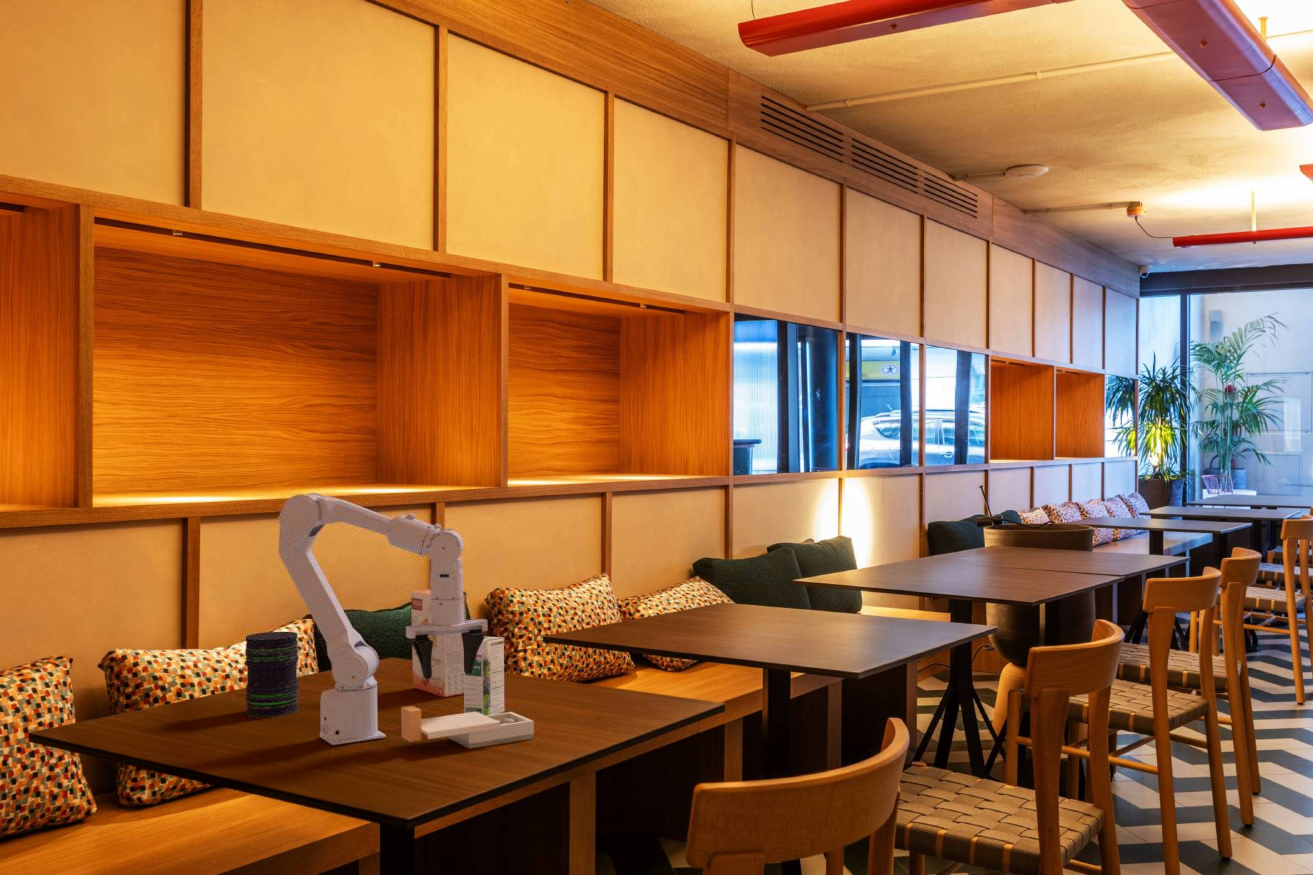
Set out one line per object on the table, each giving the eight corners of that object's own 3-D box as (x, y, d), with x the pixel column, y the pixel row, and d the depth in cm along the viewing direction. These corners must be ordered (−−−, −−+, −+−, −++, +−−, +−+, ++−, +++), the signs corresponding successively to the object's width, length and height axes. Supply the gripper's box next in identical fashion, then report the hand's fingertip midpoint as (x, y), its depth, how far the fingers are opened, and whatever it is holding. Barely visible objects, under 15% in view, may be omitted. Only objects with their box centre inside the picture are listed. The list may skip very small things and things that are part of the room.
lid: (416, 745, 186) (416, 714, 186) (395, 733, 194) (394, 703, 194) (500, 732, 193) (499, 703, 194) (476, 721, 202) (475, 693, 202)
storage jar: (235, 716, 220) (234, 638, 220) (264, 705, 229) (263, 631, 230) (281, 718, 217) (280, 639, 218) (308, 707, 227) (307, 631, 227)
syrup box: (463, 715, 217) (461, 638, 217) (481, 709, 222) (480, 634, 222) (487, 718, 214) (486, 640, 214) (505, 711, 219) (504, 636, 220)
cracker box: (410, 688, 244) (409, 590, 245) (436, 684, 248) (434, 588, 248) (442, 698, 233) (440, 595, 234) (468, 694, 237) (466, 593, 237)
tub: (469, 748, 191) (468, 730, 191) (448, 738, 199) (448, 720, 199) (533, 738, 197) (533, 720, 198) (511, 728, 205) (511, 711, 205)
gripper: (415, 603, 195) (416, 683, 194) (494, 597, 202) (495, 673, 202) (401, 599, 201) (402, 677, 200) (478, 593, 208) (479, 668, 208)
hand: (448, 675), depth 202 cm, fingers open, 7 cm apart
